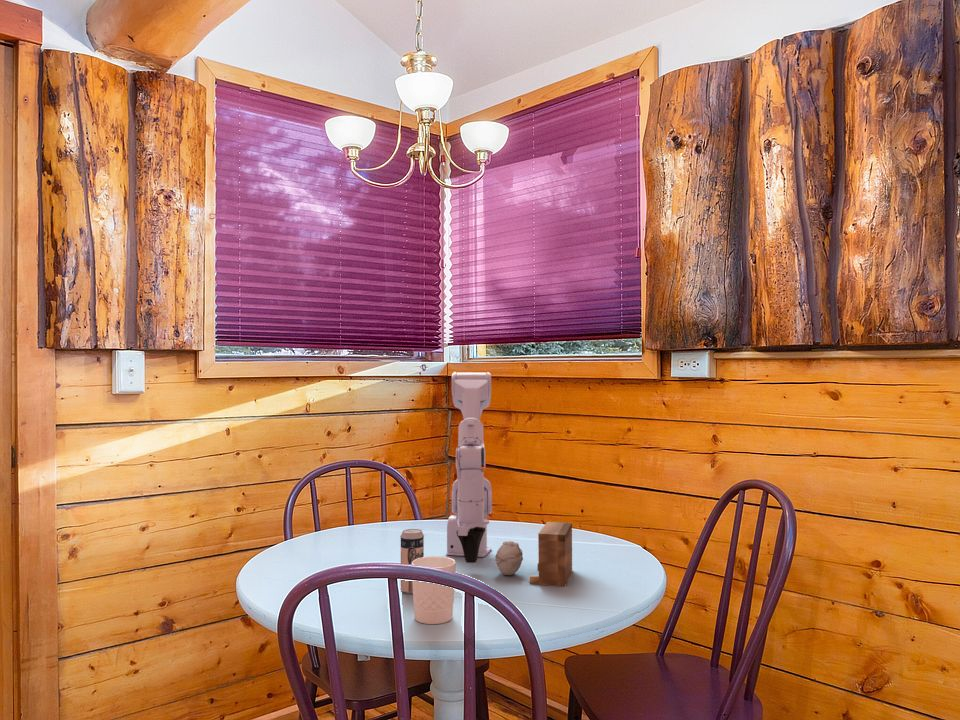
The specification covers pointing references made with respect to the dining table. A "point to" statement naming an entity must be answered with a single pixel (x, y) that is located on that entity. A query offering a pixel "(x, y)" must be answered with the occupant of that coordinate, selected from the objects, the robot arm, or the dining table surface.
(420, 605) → the pink cup
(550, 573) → the upright wooden block
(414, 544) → the beer can
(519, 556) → the pink clay lump
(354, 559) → the dining table surface
